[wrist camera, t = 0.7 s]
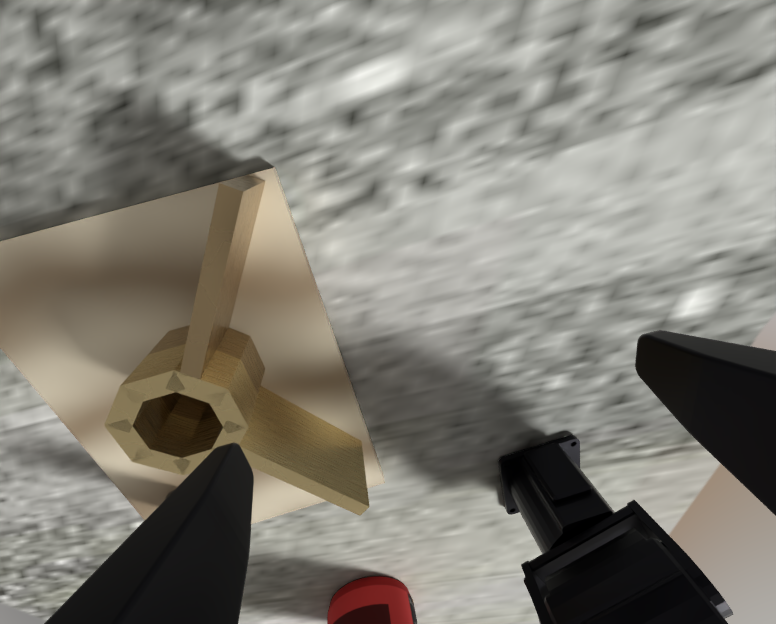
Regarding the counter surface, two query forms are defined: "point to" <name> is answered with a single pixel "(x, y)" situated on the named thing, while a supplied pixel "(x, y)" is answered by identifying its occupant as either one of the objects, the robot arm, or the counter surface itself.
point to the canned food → (372, 603)
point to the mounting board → (168, 325)
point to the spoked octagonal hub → (229, 384)
